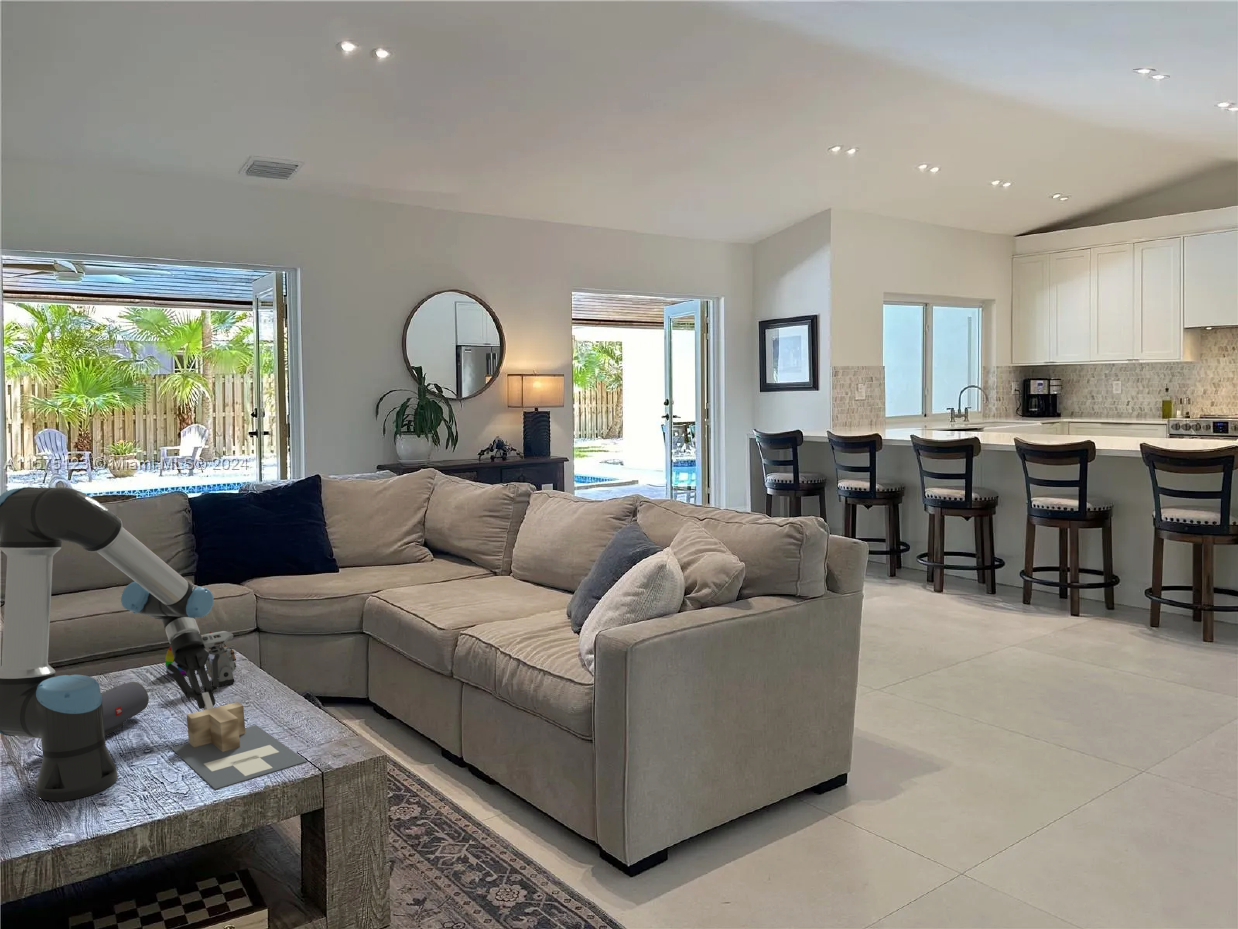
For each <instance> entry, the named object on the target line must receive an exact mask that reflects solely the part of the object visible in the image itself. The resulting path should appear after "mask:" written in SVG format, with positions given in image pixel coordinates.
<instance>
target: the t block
mask: <svg viewBox="0 0 1238 929" xmlns="http://www.w3.org/2000/svg"><path fill="white" fill-rule="evenodd" d="M186 725H187V735H188V737H187V738H188V743H190V744H191V745H192V746H193V747H198V746H201V745H205V744H209V743H213V744H214V745H215V746H216V747H217V748H219V749H220V750H221V751H222V752H224V751H228V750H231V749H235V748H238V747H240V738H239V735H242V734H245V728H246V722H245V711H244V704H242V703H240V702H238V701H236V702H233V703H232V702H231V703H228V704H225V705H220V706H216V707H213V708H211V709H207V710H204V709H203V710H201V711H195V712H190V713H188V714H186Z"/></svg>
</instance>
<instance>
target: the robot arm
mask: <svg viewBox="0 0 1238 929" xmlns="http://www.w3.org/2000/svg"><path fill="white" fill-rule="evenodd" d="M62 541H63V542H68V543H72V544H74V545H77V546H79V547H81V548H83V550H85V551H86V552H88V553H89V552H90V553H97V554H98V555H100V556H101V557H102V558H104V559H105V560H106V561H107V562H109V563H110V564H112V565H113V566H114V567H115V568H117V569H118V570H119V571H120V572H122V573H124V575H126V576H127V577H129V578H130V579H131V580H132V582H130V583H129V584H128V585H126V587H125V588H124V589H123V590H122V593H121V597H120V602H121V606H122V607H123V608H124V609H125V610H127V611H130V612H131V613H133V614H139V615H143V616H147V617H148V618H149V617H150V618H152V619H155V620H160V621H161V622H162V625H163V628H164V630H165V634H166V636H167V640H168V642H169V645H170V646H169V647H171V650H172V653H173V656H174V661H173V663H172V664H168V666H167V668H166V670H165V672H166V673H167V674H168V675H169V676H171V677H172V678H173V680H174V681H175V682H176V684H177V685H178V687H179V689H180V690H181V692H182V693H183V695H184V696H185V697H186V698H187V699H191V698H192V699H193V700H194V701H196V703H197V707H198V709H199V710H202V709H203V710H207V709H211V708H214V706H215V704H216V698H215V695H214V693H216V692H217V691H218V688H219V687H220V686H219V678H218V660H219V657H220V655H219V654H215V655H212V654H209V652H208V651H209V650H207V648H205V646H204V643H203V640H202V637H201V635H202V634H201V631H200V628H199V626H198V623H197V621H196V618H204V617H206V616H207V615H208V614H209V613H210V612H211V610H212V608H213V606H214V600H215V599H214V594H213V593H212V591H211V590H210V589H209V588H207V587H202V586H195V585H193V584H192V583H190V582H189V581H188V580H187V579H185V578H184V577H183V576H182V575H181V574H180V573H178V571H176V570H175V569H173V568H172V566H170V565H168V563H166V562H165V561H164V560H163V559H162V558H161V557H159V556H158V555H157V554H155V553H154V552H153V551H152V550H151V549H150V548H148V546H146V545H145V544H143V542H141V541H140V540H138V539H137V537H135V536H134V535H133V534H132V533H130V532H129V531H128V530H126V529H125V528H124V526H123V521H122V519H121V518H120V517H119V516H118V515H116V514H115V513H114V512H113V511H112V510H110V509H109V508H108V507H107V506H105V505H104V504H102V503H100V502H99V501H98V500H97V499H95V498H94V497H91V496H90V495H88V494H86V493H85V492H82V491H79V490H77V489H73V488H69V487H60V486H59V487H34V486H33V487H32V486H28V487H21V488H19V487H18V488H17V487H16V488H12V489H8V490H7V491H4V492H3V493H2V494H0V551H1V552H2V553H4V554H5V556H6V559H7V560H6V576H5V577H6V578H5V590H4V591H5V592H4V594H5V596H4V612H3V633H2V634H3V635H2V648H1V649H2V650H1V651H2V654H1V665H0V734H1V735H4V736H7V737H8V736H9V737H15V736H17V737H26V738H35V739H36V738H37V739H40V741H41V750H42V760H41V761H42V762H41V765H40V768H39V772H38V776H37V779H36V780H37V781H36V783H35V790H36V791H35V792H36V793H35V794H36V797H37V796H38V797H40V798H41V799H44V800H49V801H48V802H65V801H70V800H71V801H72V800H77V799H81V798H85V797H88V796H92V795H94V794H97V793H99V792H102V791H104V790H105V789H106V790H107V789H108V788H109V787H111V786H112V785H114V784H115V783H116V782H117V781H118V769H117V765H116V764H115V762H114V760H113V757H112V756H111V754H110V752H109V750H108V747H107V746H106V738H105V736H106V735H105V736H104V721H103V707H102V695H101V693H102V692H101V686H100V683H99V682H98V681H97V680H96V679H95V678H93V677H91V676H88V675H85V674H84V675H82V674H71V675H68V674H64V675H63V674H61V675H56V670H55V669H54V668H53V667H52V666H51V665H50V664H49V662H48V661H49V648H50V647H49V646H50V645H49V643H50V627H51V626H50V624H51V621H50V620H51V607H52V606H51V604H52V603H51V602H52V583H53V563H54V556H55V554H57V553H58V552H59V551H60V550H62ZM207 659H209V662H210V664H212V665H211V677H208V676H209V675H208V674H207V673H206V671H207V669H206V664H205V663H206V661H207ZM178 667H179V668H181V669H182V670H184V671H185V672H186V674H185V675H186V677H187V679H188V681H189V682H188V681H187V680H186V678H185V677H184V675H182V674H181V672H180V671H179V669H178ZM197 674H198V677H199V680H200V683H199V680H198V677H197ZM209 678H210V679H209ZM210 680H211V681H210ZM200 684H201V685H202V689H203V692H202V690H201V686H200ZM38 797H37V798H38ZM41 799H40V800H41ZM44 800H43V801H44Z"/></svg>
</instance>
